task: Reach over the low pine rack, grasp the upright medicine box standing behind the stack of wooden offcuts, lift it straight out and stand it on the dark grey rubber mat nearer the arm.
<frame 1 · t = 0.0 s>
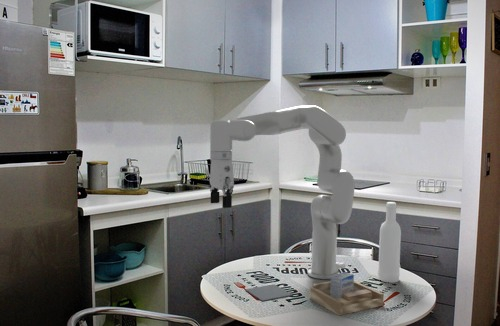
hand: (220, 205, 175), 31 cm above the table, fingers open, 9 cm apart
offcut stack: (355, 306, 166), resting in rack
medicine box: (341, 300, 172), resting in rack
mat: (268, 293, 178), on the table
bottle: (388, 280, 194), on the table
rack: (346, 302, 170), on the table
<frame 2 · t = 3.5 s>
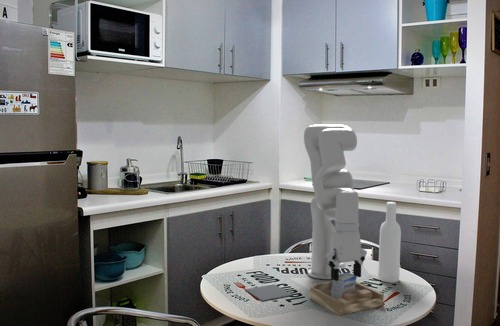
hand: (346, 278, 169), 8 cm above the table, fingers open, 9 cm apart
medicine box: (341, 300, 172), resting in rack, touching gripper
everything else where it was.
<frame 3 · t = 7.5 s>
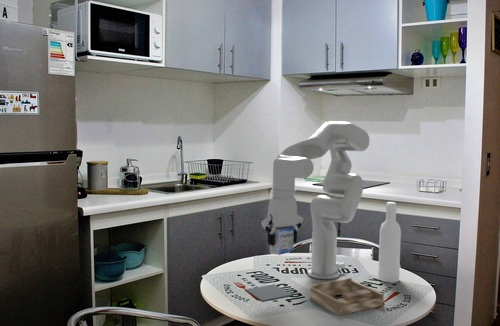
hand: (282, 243, 175), 18 cm above the table, fingers closed on medicine box, 8 cm apart
medicine box: (281, 252, 175), point 15 cm above the table, touching gripper
everything else where it was.
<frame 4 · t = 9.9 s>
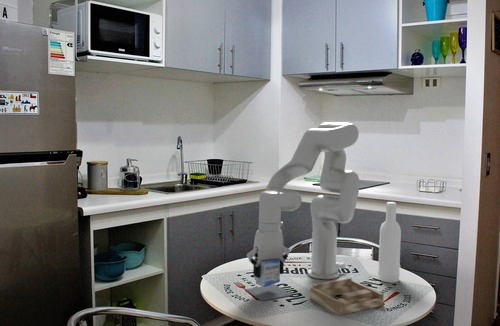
hand: (268, 274, 177), 7 cm above the table, fingers closed on medicine box, 8 cm apart
medicine box: (267, 283, 178), point 3 cm above the table, touching gripper
everything else where it was.
when the fingers open (5 cm above the table, at t = 11.1 s): medicine box stays where it is, resting on mat.
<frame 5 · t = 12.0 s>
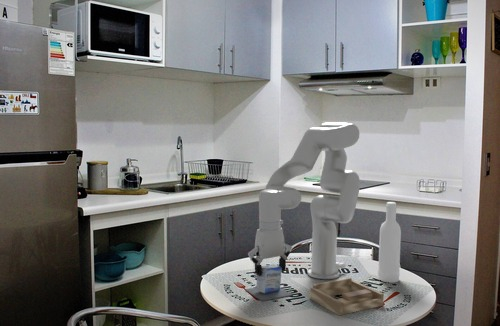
hand: (270, 272, 178), 7 cm above the table, fingers open, 9 cm apart
medicine box: (268, 291, 178), point 1 cm above the table, touching mat
everything else where it was.
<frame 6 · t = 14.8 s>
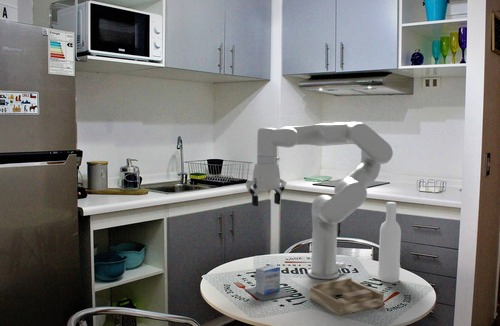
hand: (266, 204, 193), 28 cm above the table, fingers open, 9 cm apart
nothing on the table moved.
at the end: medicine box 0.6 cm from the mat (horizontally); medicine box tilted 0°; the gripper is holding nothing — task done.
